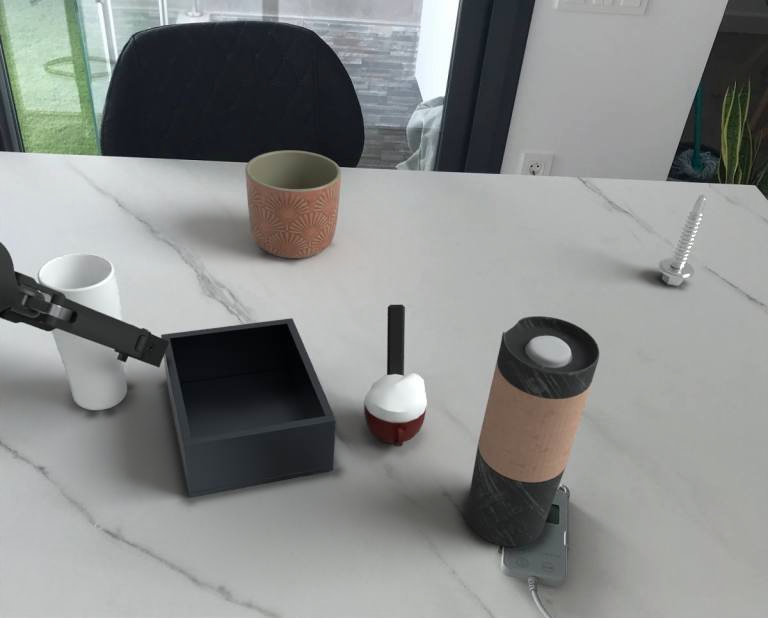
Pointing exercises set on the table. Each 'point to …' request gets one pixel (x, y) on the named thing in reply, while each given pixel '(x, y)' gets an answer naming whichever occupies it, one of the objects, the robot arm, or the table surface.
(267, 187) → the planter
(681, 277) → the screw
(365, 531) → the table surface
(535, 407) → the travel mug
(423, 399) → the cocoa
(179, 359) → the dark storage bin
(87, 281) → the white cup
